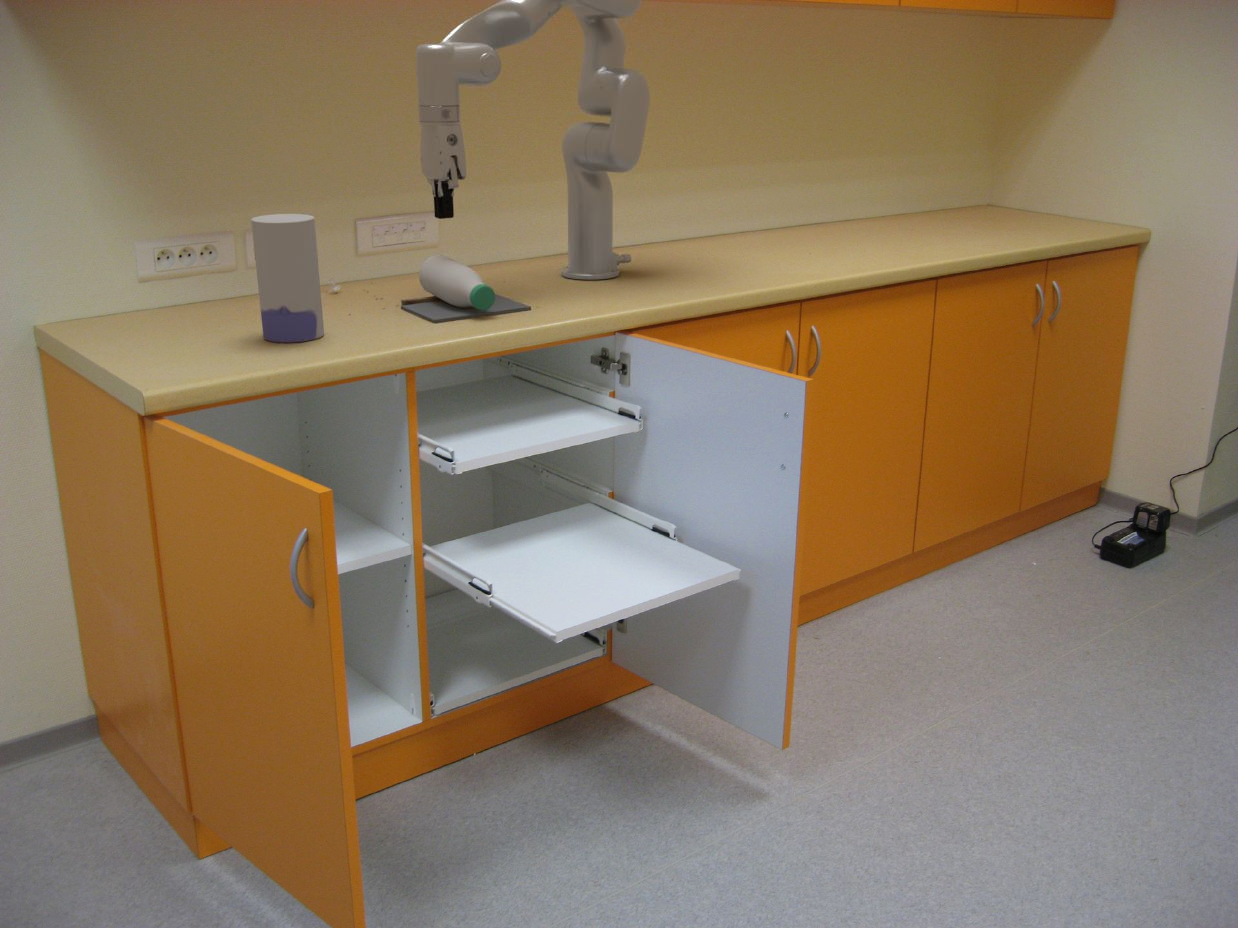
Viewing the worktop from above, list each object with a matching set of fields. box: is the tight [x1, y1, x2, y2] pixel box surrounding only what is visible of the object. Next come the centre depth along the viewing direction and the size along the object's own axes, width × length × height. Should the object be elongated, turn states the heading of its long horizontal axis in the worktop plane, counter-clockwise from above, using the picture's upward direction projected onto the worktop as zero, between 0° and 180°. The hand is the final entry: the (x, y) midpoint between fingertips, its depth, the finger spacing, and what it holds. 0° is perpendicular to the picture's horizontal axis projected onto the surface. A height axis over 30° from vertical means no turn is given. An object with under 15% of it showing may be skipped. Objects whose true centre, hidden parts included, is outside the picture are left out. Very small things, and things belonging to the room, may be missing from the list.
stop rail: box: [401, 295, 442, 306], centre depth 222 cm, size 18×1×1 cm, turn 124°
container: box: [250, 213, 325, 343], centre depth 192 cm, size 10×10×20 cm
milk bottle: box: [418, 254, 496, 310], centre depth 215 cm, size 8×8×20 cm
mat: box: [400, 293, 532, 324], centre depth 216 cm, size 20×14×1 cm
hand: (444, 217), depth 216 cm, fingers closed
